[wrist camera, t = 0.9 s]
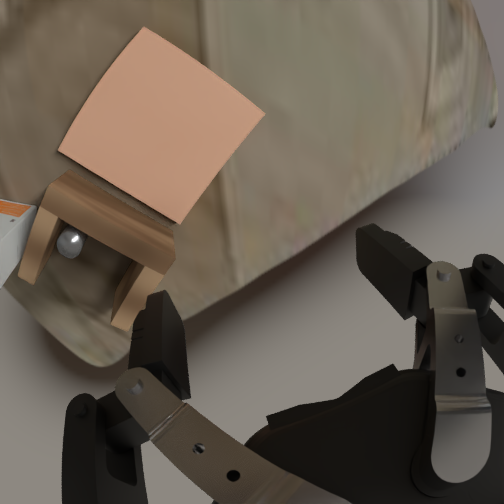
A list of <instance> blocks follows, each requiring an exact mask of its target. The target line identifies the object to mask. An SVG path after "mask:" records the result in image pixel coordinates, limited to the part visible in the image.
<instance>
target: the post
mask: <svg viewBox="0 0 504 504" xmlns="http://www.w3.org/2000/svg"><path fill="white" fill-rule="evenodd" d="M87 237H88V235H87V234H86V233H84V232H82V231H81V230H79V229H77V228H75V227H74V226H72V225H70V224H68V225H67V226H66V228H65V229H64V231H63V232H62V234H61V235H60V237H59V238H58V240H57V248H58V250H59V252H60V253H61V254H62V255H63V256H64V257H66V258H75V257H77V256H78V255H79V253H80V251H81V249H82V247H83V245H84V243H85V241H86V239H87Z"/></svg>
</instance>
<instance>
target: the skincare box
mask: <svg viewBox="0 0 504 504" xmlns="http://www.w3.org/2000/svg"><path fill="white" fill-rule="evenodd" d="M36 211H37V206H35V205H28V204H23V203H17V202H12V201H7V200H3V199H0V289H1V287H2V286H3V284H4V283H5V281H6V280H7V278H8V277H9V275H10V274H11V272H12V271H13V270H14V268H15V267H16V265H17V264H18V263H19V261H20V260H21V258H22V257H23V254H24V251H25V248H26V244H27V241H28V238H29V235H30V232H31V229H32V226H33V223H34V220H35V218H36Z"/></svg>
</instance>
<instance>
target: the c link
mask: <svg viewBox="0 0 504 504" xmlns="http://www.w3.org/2000/svg"><path fill="white" fill-rule="evenodd" d="M64 221H65V222H67V223H69V224H70V225H72V226H74V227H75V228H77V229H79V230H81V231H82V232H84V233H86V234H87V235H89V236H91V237H93V238H95V239H96V240H98V241H100V242H102V243H103V244H105V245H107V246H109V247H111V248H112V249H114V250H116V251H118V252H120V253H122V254H124V255H125V256H127V257H129V258H131V259H133V261H132V263H131V264H130V266H129V268H128V269H127V271H126V273H125V274H124V276H123V278H122V280H121V281H120V283H119V285H118V287H117V288H116V291H115V296H114V302H113V309H112V316H111V323H110V324H111V325H113V326H115V327H118V328H120V329H122V330H125V331H128V330H129V328H130V327H131V325H132V324H133V322H134V320H135V318H136V316H137V315H138V313H139V311H141V310H142V308H143V306H144V305H145V303H146V301H147V296H148V295H150V294H152V293H153V291H154V290H155V288H156V287H157V285H158V284H159V282H160V281H161V279H162V278H163V277H164V275H165V274H166V272H167V271H168V269H169V268H170V266H171V265H172V263H173V262H174V261H175V259H176V258H175V249H174V239H173V231H172V230H170V229H168V228H167V227H165V226H163V225H161V224H160V223H158V222H156V221H155V220H153V219H151V218H150V217H148V216H146V215H144V214H143V213H141V212H139V211H138V210H136V209H134V208H133V207H131V206H129V205H128V204H126V203H124V202H122V201H121V200H119V199H117V198H116V197H114V196H112V195H111V194H109V193H107V192H106V191H104V190H102V189H101V188H99V187H98V186H96V185H94V184H93V183H91V182H89V181H88V180H86V179H84V178H83V177H81V176H79V175H78V174H76V173H75V172H73V171H71V170H68V171H67V172H66V173H64V174H63V175H62V176H60V177H59V178H58V179H56V180H55V181H54V182H52V183H51V184H50V185H48V188H47V190H46V192H45V195H44V197H43V200H42V202H41V205H40V207H39V210H38V212H37V215H36V218H35V220H34V223H33V226H32V229H31V232H30V235H29V238H28V241H27V244H26V248H25V251H24V254H23V258H22V261H21V265H20V269H19V273H18V277H20V278H22V279H23V280H25V281H27V282H29V283H30V284H32V285H34V284H35V282H36V280H37V278H38V276H39V275H40V273H41V271H42V269H43V268H44V266H45V264H46V262H47V261H48V259H49V257H50V256H51V253H52V251H53V248H54V245H55V243H56V240H57V238H58V235H59V233H60V231H61V228H62V226H63V224H64Z"/></svg>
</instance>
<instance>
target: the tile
mask: <svg viewBox="0 0 504 504" xmlns="http://www.w3.org/2000/svg"><path fill="white" fill-rule="evenodd" d="M264 115H265V113H264V112H263V111H261V110H260V109H259V108H258V107H257V106H255V105H254V104H253V103H252V102H251V101H249V100H248V99H247V98H246V97H244V96H243V95H242V94H241V93H239V92H238V91H237V90H236V89H234V88H233V87H232V86H230V85H229V84H228V83H227V82H225V81H224V80H223V79H221V78H220V77H219V76H217V75H216V74H215V73H213V72H212V71H210V70H209V69H208V68H206V67H205V66H203V65H202V64H201V63H199V62H198V61H196V60H195V59H193V58H192V57H191V56H189V55H188V54H186V53H185V52H183V51H182V50H180V49H179V48H177V47H176V46H174V45H173V44H171V43H169V42H168V41H166V40H165V39H163V38H161V37H160V36H158V35H157V34H155V33H153V32H152V31H150V30H148V29H147V28H145V27H143V28H142V29H141V30H140V32H139V33H138V34H137V35H136V36H135V37H134V38H133V39H132V41H131V42H130V43H129V44H128V45H127V46H126V48H125V49H124V50H123V51H122V52H121V54H120V55H119V56H118V57H117V59H116V60H115V61H114V63H113V64H112V65H111V66H110V68H109V69H108V70H107V72H106V73H105V74H104V76H103V77H102V79H101V80H100V81H99V83H98V84H97V86H96V87H95V89H94V90H93V92H92V93H91V95H90V96H89V98H88V99H87V101H86V102H85V104H84V105H83V107H82V109H81V110H80V112H79V113H78V115H77V117H76V118H75V120H74V122H73V124H72V125H71V127H70V129H69V131H68V132H67V134H66V136H65V138H64V140H63V142H62V143H61V145H60V147H59V149H58V151H60V152H61V153H63V154H65V155H66V156H68V157H70V158H71V159H73V160H74V161H76V162H78V163H79V164H81V165H82V166H84V167H86V168H87V169H89V170H91V171H92V172H94V173H96V174H97V175H99V176H100V177H102V178H104V179H105V180H107V181H109V182H110V183H112V184H114V185H115V186H117V187H119V188H120V189H122V190H123V191H125V192H127V193H128V194H130V195H132V196H133V197H135V198H137V199H138V200H140V201H142V202H143V203H145V204H147V205H148V206H150V207H152V208H153V209H155V210H157V211H158V212H160V213H162V214H163V215H165V216H167V217H168V218H170V219H172V220H173V221H175V222H177V223H178V224H181V222H182V221H183V219H184V218H185V216H186V215H187V214H188V212H189V211H190V209H191V208H192V207H193V205H194V204H195V202H196V201H197V200H198V198H199V197H200V196H201V194H202V193H203V192H204V190H205V189H206V188H207V186H208V185H209V184H210V182H211V181H212V180H213V178H214V177H215V176H216V174H217V173H218V172H219V170H220V169H221V168H222V166H223V165H224V164H225V163H226V161H227V160H228V159H229V158H230V156H231V155H232V154H233V152H234V151H235V150H236V149H237V147H238V146H239V145H240V144H241V142H242V141H243V140H244V139H245V138H246V136H247V135H248V134H249V133H250V131H251V130H252V129H253V128H254V127H255V125H256V124H257V123H258V122H259V121H260V119H261V118H262V117H263V116H264Z"/></svg>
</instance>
